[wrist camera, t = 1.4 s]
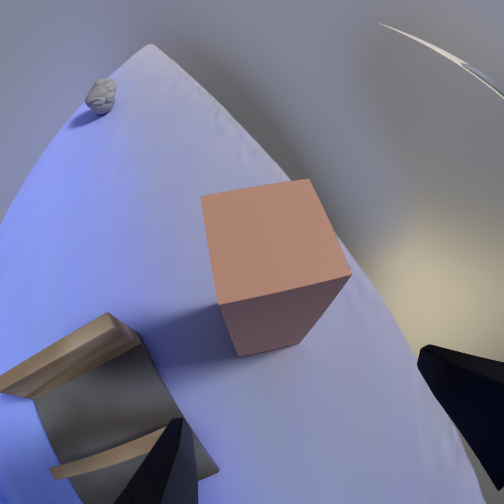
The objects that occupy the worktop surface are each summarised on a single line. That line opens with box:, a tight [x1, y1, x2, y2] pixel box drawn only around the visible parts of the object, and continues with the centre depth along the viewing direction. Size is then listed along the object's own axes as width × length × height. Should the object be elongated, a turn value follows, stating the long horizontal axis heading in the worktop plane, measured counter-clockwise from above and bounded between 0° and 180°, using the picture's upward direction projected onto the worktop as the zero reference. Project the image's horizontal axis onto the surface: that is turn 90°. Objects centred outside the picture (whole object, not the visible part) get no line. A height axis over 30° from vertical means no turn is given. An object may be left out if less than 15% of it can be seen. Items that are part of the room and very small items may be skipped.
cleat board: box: [0, 312, 220, 504], centre depth 14 cm, size 13×14×6 cm
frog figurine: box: [85, 78, 117, 114], centre depth 38 cm, size 6×7×7 cm
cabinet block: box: [201, 179, 352, 357], centre depth 17 cm, size 6×5×13 cm
